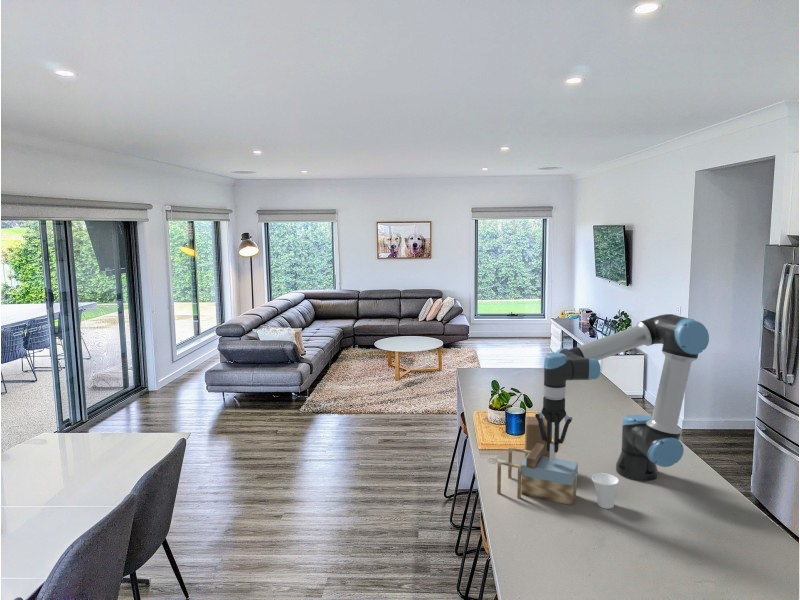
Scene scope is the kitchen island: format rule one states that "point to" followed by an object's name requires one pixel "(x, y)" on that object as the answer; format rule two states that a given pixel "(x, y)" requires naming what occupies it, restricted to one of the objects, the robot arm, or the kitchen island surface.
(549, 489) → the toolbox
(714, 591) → the kitchen island surface
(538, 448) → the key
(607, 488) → the cup
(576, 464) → the lid
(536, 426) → the wooden block
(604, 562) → the kitchen island surface
